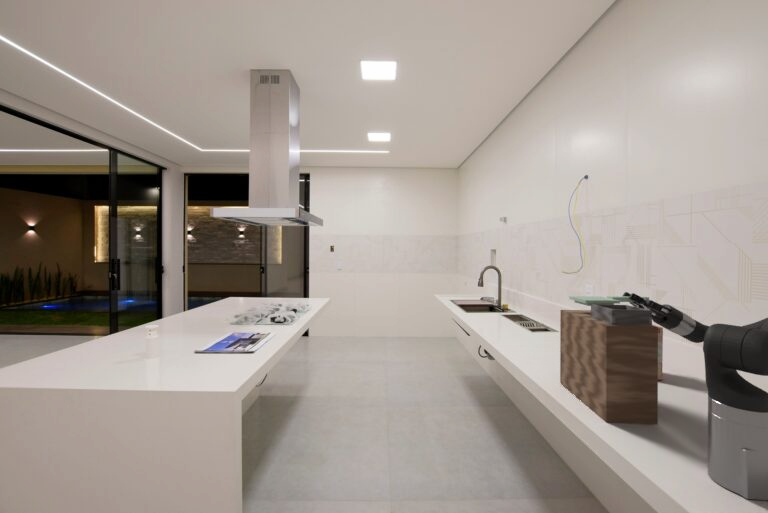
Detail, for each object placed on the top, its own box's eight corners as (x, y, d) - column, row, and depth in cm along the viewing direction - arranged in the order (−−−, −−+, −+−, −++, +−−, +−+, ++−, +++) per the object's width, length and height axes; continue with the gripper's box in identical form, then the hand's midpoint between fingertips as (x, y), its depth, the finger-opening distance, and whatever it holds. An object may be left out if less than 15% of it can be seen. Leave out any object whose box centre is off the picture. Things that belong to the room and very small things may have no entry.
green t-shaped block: (658, 306, 105) (658, 299, 105) (585, 306, 107) (585, 298, 107) (634, 302, 116) (634, 295, 116) (569, 301, 118) (569, 294, 118)
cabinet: (657, 424, 90) (657, 311, 91) (606, 422, 92) (606, 310, 92) (599, 385, 118) (599, 298, 119) (560, 383, 120) (560, 298, 120)
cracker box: (663, 381, 123) (663, 327, 123) (646, 379, 124) (646, 326, 124) (642, 368, 137) (642, 320, 137) (626, 367, 138) (626, 319, 138)
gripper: (662, 307, 117) (619, 284, 118) (697, 314, 103) (648, 287, 104) (652, 325, 117) (609, 301, 118) (685, 334, 103) (636, 307, 104)
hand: (627, 295), depth 111 cm, fingers closed on green t-shaped block, 3 cm apart
